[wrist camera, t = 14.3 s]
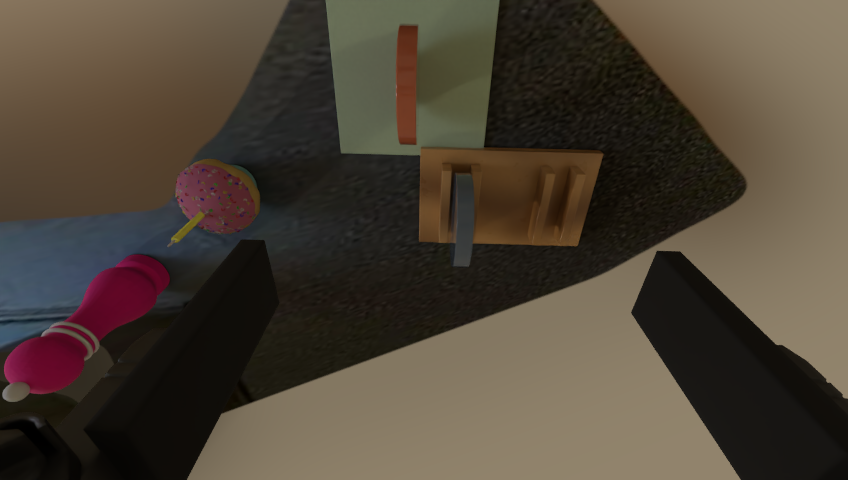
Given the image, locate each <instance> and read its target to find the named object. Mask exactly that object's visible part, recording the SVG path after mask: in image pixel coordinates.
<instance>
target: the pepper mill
mask: <svg viewBox="0 0 848 480" xmlns="http://www.w3.org/2000/svg"><path fill="white" fill-rule="evenodd" d="M169 281H170V277H169V274H168V271H167V270H166V269H165V267H164V266H163V265H162V264H161V263H160V262H158V261H157V260H155V259H153V258H151V257H148V256H145V255H130V256H128V257H126V258H125V259H124V260H122V261H121V262H120V263H119V264H118V265H117V266H116V267H114V268H109V269H106V270H104V271H102V272H101V273H100V274H98V275H97V276H96V277H95V278H94V279H93V281H92V282H91V283H90V285H89V287H88V288H87V290H86V293H85V296H84V299H83V301H82V304H81V306H80V307H79V308H78V310H77V311H76V312H75V313H74V314H73V315H72V316H71V317H69V318H68V319H66V320H65V321H64V322H58V323H55V324H53V325H51V327H50V328H49V329H48V330H45V331H44V332H43V333H42V336H41V337H37V338H33V339H29V340H27V341H25V342H23V343H22V344H20V345H19V346H18V347H16V348H15V349H14V350H13V351H12V352H11V354H10V355H9V357H8V358H7V360H6V362H5V366H4V373H5V376H6V378H7V380H8V381H9V382H10V383H11V384H10V385H9V386H7V387H6V388H5V389H4V391H3V398H4V399H5V400H7V401H10V402H16V401H19V400H22V399H23V398H25V397H26V396H27V395H28V394H29V393H35V394H44V393H52V392H55V391H58V390H60V389H62V388H64V387H66V386H68V385H69V384H70V383H72V382H73V381H74V380H75V379H76V378H77V377H78V376H79V375H80V374H81V372H82V370H83V367H84V361H85V360H87V359H89V358H90V357H91V356H92V354H93V353H94V352H96V351H97V350H98V348H99V341H100V340H101V339H102V338H103V337H104V336H105V335H106V334H107V333H108V332H110V331H112V330H113V329H115V328H116V327H118V326H121V325H123V324H125V323H128V322H130V321H133V320H135V319H137V318H139V317H141V316H142V315H144V314H145V313H147V312H148V311H149V310H150V309H151V308H152V307H153V306H154V304H155V303H156V299H157V295H159V294H160V293H161V292H162V291H163V290H164V289H165V288H166V287H167V286H168V284H169Z"/></svg>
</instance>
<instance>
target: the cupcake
mask: <svg viewBox="0 0 848 480" xmlns="http://www.w3.org/2000/svg"><path fill="white" fill-rule="evenodd" d="M176 196H177V199H178V204H179V207H181V208H182V210H183V213H184V214H185V216H187V218H188V219H190V221H189V222H188V223H187V224H186V225H185V226H184V227H183V228H182V229H181V230H180V231H179V232H177V233H176V234H175V235H174V236H173V237H172V238H171V240H172V242H171V243H170V244H169V245H168V247H170V246H171V245H172V244H173V243H174V242H175V243H177V242H179V241H180V240H181V239H182V238H183V237H184V236H185V235H186V234H187V233H188V232H189V231H190V230H191V229H192V228H193V227H194V226H197V225H198V227H199V228H200V227H201V229H203V228H204V230H207V231H208V232H209V231H210V232H212V233H218V234H223V233H230V234H231V233H232V232H236V231H237V232H239V231H240V230H242V229H243V228H245V227H247V226H249V225H250V224H251V223H252V222H253V220H254V219H255V217H256V216H257V215H258V213H259V211H260V193H259V191H258V189H257V184H256V181H255V179H254V177H253V176H252V174H251V173H250V172H249V171H247V170H246V169H245V168H243V167H241V166H238V165H228V164H225V163H222V162H221V161H219V160H217V159H204V160H200V161H197V162H195V163H194V164H192V165H191V166H189V167H188V168H186V169H185V170H184V171H182V172H181V173H180V174H178V179H177V181H176V193H175V197H176Z"/></svg>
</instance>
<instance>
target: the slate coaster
mask: <svg viewBox="0 0 848 480" xmlns="http://www.w3.org/2000/svg"><path fill="white" fill-rule="evenodd" d="M473 233H474V185H473V178H472V174H471V173H455V174H454V178H453V185H452V196H451V214H450V258H451V266H452V267H462V268H467V267H468V266H469V263H470V259H471V253H472V245H473Z"/></svg>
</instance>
